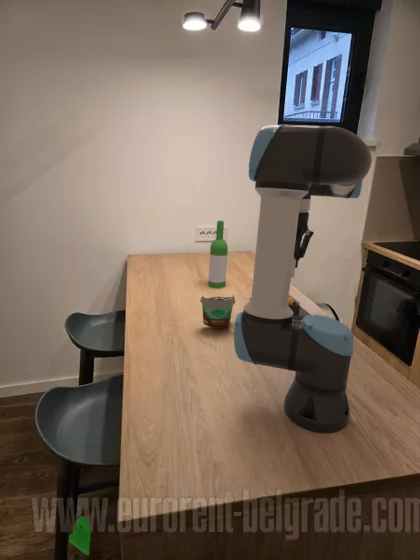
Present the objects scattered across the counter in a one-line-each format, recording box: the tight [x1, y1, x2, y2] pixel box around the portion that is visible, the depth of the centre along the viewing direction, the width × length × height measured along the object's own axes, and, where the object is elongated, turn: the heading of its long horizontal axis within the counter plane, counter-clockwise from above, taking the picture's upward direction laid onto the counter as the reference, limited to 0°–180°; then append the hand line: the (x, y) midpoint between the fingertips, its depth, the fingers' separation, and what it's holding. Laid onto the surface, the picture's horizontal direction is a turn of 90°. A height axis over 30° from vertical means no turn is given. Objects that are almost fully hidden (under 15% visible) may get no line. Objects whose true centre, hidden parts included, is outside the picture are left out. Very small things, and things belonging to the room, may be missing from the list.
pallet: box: [249, 294, 312, 321], centre depth 148 cm, size 21×17×6 cm
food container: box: [199, 294, 236, 329], centre depth 129 cm, size 12×6×10 cm, turn 105°
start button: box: [288, 296, 295, 305], centre depth 140 cm, size 4×4×3 cm
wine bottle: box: [208, 220, 229, 289], centre depth 168 cm, size 8×8×30 cm
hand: (290, 276), depth 138 cm, fingers closed
